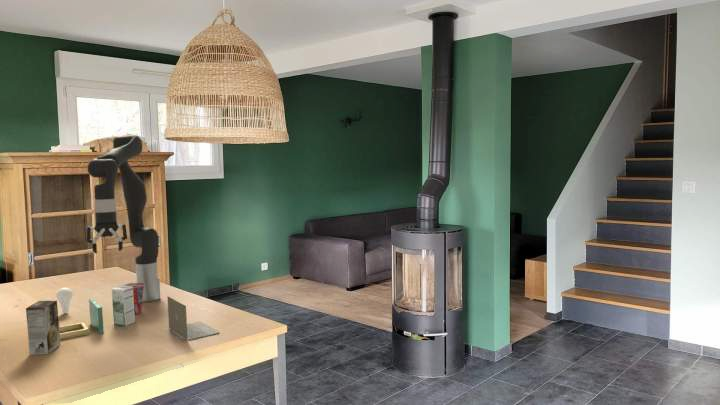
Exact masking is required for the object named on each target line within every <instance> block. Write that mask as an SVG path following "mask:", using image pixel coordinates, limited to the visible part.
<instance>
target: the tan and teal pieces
mask: <svg viewBox="0 0 720 405" xmlns="http://www.w3.org/2000/svg"><path fill="white" fill-rule="evenodd" d="M88 304H89V317H90V318H89V319H90V320H89V321H90V325H91V327H93V329H94V330H95V331H96V332H97V333H98V334H99V335H102V334H104V316H103V306H102V305H101V304H99V303H98V302H97V301H96V300H95V299H94V298H90V299H88ZM89 330H90V329H89V327H88V326H87V325H86V323H84V322H77V323H72V324H66V325H61V326H60V325H59V333H60V341H61V340H65V339H71V338H77V337H81V336H87V335H90V331H89Z"/></svg>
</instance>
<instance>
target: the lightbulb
mask: <svg viewBox="0 0 720 405" xmlns="http://www.w3.org/2000/svg"><path fill="white" fill-rule="evenodd" d="M73 296H74V295H73V290H71V288H69V287H61V288H59V289H58V290H57V292H56V293H55V297H56V300H57V302H59V304H60V308H61V312H62V313H63V314H68V313H69V312H70V303H71V299H72V298H73Z"/></svg>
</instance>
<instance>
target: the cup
mask: <svg viewBox="0 0 720 405" xmlns="http://www.w3.org/2000/svg"><path fill="white" fill-rule="evenodd" d="M122 286H130V287H133V297H134V313H135V315H140V314H141V313H142V311H143V289H144V283H137V282H130V283H126V284H123V285H122Z"/></svg>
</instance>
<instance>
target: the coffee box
mask: <svg viewBox="0 0 720 405" xmlns="http://www.w3.org/2000/svg"><path fill="white" fill-rule="evenodd" d="M25 312H26V324H27V326H26V327H27V340H28V349H29V351H28V352H29V355H30V356H33V355H34V356H35V355H38V356H39V355H49V354H51V353H52V352H53V351H54V350H56V349H57V348H58V347H60V345H61V340H60V333H61V332H60V333H59V327H60V321H59V311H58V300H38V301H36V302H35V303H33V304H31V305H29V306H27V307H26V308H25Z"/></svg>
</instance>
